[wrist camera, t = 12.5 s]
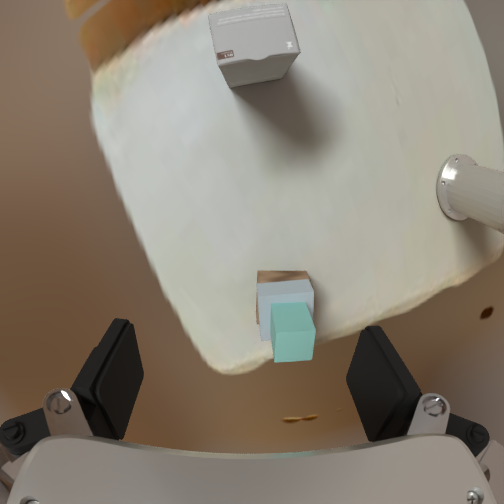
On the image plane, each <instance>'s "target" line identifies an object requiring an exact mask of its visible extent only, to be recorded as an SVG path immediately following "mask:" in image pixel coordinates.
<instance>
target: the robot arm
mask: <svg viewBox="0 0 504 504" xmlns="http://www.w3.org/2000/svg"><path fill="white" fill-rule="evenodd" d="M437 195H438V200H439V204H440V206H441V208H442V210H443V211H444V213H445V214H446V215H447V216H449V217H450V218H452V219H455V220H465V219H467V218H469V217H470V218H472V219H474V220H476V221H478V222H480V223H482V224H485V225H487V226H489V227H491V228H493V229H495V230H497V231H499V232H501V233H503V234H504V172H502V171H498V170H494V169H490V168H486V167H481V166H478V164H477V163H476V162H475V160H474V159H472V158H471V157H469V156H467V155H463V154H457V155H453V156H452V157H450V158H449V159H448V160H447V161H446V162H445V163H444V165H443V166H442V168H441V170H440V173H439V176H438V182H437ZM143 376H144V371H143V367H142V363H141V358H140V354H139V350H138V345H137V340H136V335H135V330H134V325H133V324H131V323H130V322H129V320H127V319H118V318H115V319H114V320H113V322H112V323H111V325H110V327H109V328H108V330H107V331H106V333H105V335H104V336H103V338H102V340H101V342H100V343H99V345H98V346H97V347H95V348H94V349H93V351H92V352H91V354H90V355H89V357H88V359H87V361H86V362H85V364H84V366H83V368H82V369H81V371H80V373H79V374H78V376H77V378H76V380H75V382H74V383H73V385H72V387H71V389H70V390H69V389H66V388H58V389H54V390H52V391H50V392H49V393H48V394H47V395H46V396H45V398H44V400H43V408H40V409H38V410H35V411H32V412H30V413H27V414H24V415H21V416H18V417H15V418H12V419H9V420H7V421H5V422H4V423H3V424H2V425H1V427H0V504H504V447H503V446H502V445H500V444H499V443H498V442H496V441H495V440H492V441H489V433H488V431H487V430H486V428H484V427H483V426H482V425H480V424H477V423H475V422H472V421H470V420H467V419H464V418H462V417H459V416H456V415H454V414H451V413H450V406H449V403H448V402H447V400H446V399H445V398H443V397H442V396H440V395H438V394H434V393H428V394H425V395H422V393H421V392H420V391H421V390H420V388H419V387H418V385H417V383H416V382H415V380H414V379H413V377H412V375H411V374H410V372H409V370H408V369H407V367H406V366H405V364H404V362H403V361H402V359H401V358H400V356H399V354H398V353H397V351H396V350H395V348H394V347H393V345H392V344H391V342H390V340H389V339H388V337H387V336H386V334H385V333H384V331H383V330H382V328H381V327H380V326H367V327H366V328H365V329H364V330H362V331H361V333H360V337H359V340H358V343H357V346H356V349H355V352H354V355H353V358H352V361H351V364H350V367H349V370H348V373H347V376H346V381H347V385H348V387H349V390H350V392H351V395H352V397H353V400H354V403H355V406H356V408H357V411H358V414H359V416H360V419H361V422H362V424H363V427H364V430H365V433H366V435H367V438H368V440H369V441H370V442H371V441H372V442H371V443H365V444H360V445H353V446H347V447H341V448H333V449H325V450H316V451H307V452H293V453H275V454H227V453H226V454H225V453H207V452H194V451H184V450H175V449H167V448H160V447H154V446H147V445H141V444H135V443H129V442H124V441H119V439H121V440H122V439H123V438H124V435H125V432H126V429H127V425H128V422H129V419H130V416H131V413H132V410H133V407H134V404H135V401H136V398H137V395H138V392H139V389H140V386H141V383H142V380H143Z"/></svg>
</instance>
